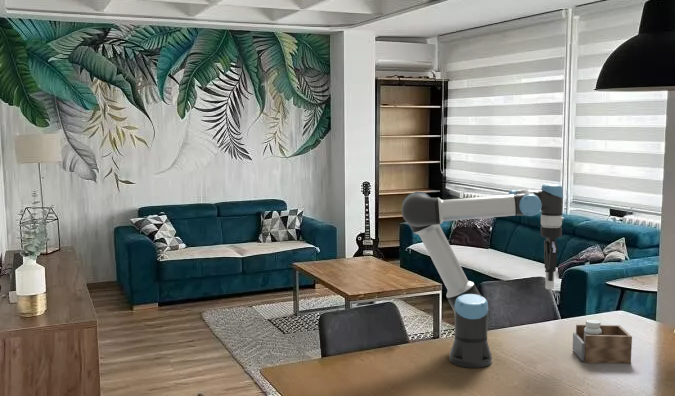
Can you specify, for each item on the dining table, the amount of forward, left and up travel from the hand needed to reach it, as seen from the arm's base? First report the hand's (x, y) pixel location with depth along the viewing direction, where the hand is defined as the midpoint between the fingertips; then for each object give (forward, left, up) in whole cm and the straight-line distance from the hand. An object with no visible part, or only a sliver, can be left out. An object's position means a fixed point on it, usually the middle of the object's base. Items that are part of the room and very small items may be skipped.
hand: (549, 288), depth 267 cm
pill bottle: (+15, -4, -23) cm, 27 cm away
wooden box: (+19, -4, -24) cm, 31 cm away
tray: (+18, -4, -24) cm, 30 cm away
